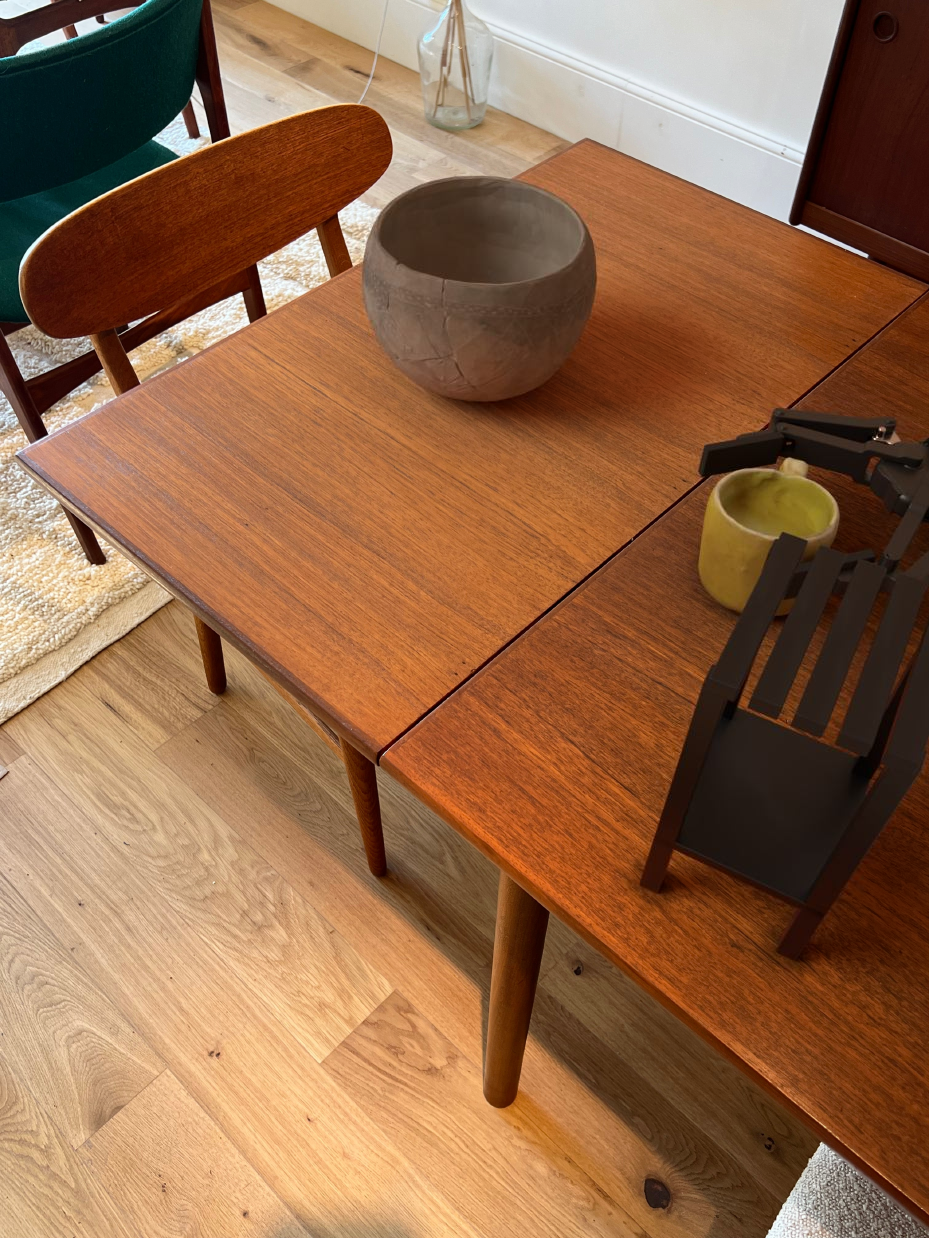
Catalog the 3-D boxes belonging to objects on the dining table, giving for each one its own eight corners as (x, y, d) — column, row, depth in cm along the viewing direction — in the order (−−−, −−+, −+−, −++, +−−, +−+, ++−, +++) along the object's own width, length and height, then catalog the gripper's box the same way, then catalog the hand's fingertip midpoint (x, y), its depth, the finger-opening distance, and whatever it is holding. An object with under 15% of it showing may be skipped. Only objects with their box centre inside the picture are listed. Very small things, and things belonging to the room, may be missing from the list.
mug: (800, 647, 71) (808, 518, 66) (672, 614, 77) (671, 494, 72) (866, 579, 79) (877, 459, 74) (745, 553, 85) (749, 441, 80)
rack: (844, 817, 64) (974, 598, 48) (794, 963, 58) (925, 766, 42) (700, 754, 67) (778, 529, 51) (637, 886, 61) (704, 675, 45)
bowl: (591, 442, 89) (612, 289, 77) (359, 437, 89) (346, 284, 78) (578, 313, 103) (594, 167, 91) (377, 308, 103) (368, 163, 91)
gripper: (1070, 617, 73) (810, 678, 69) (886, 414, 89) (666, 453, 85) (1122, 544, 67) (843, 606, 63) (916, 341, 83) (682, 379, 79)
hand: (741, 519), depth 74 cm, fingers open, 13 cm apart
